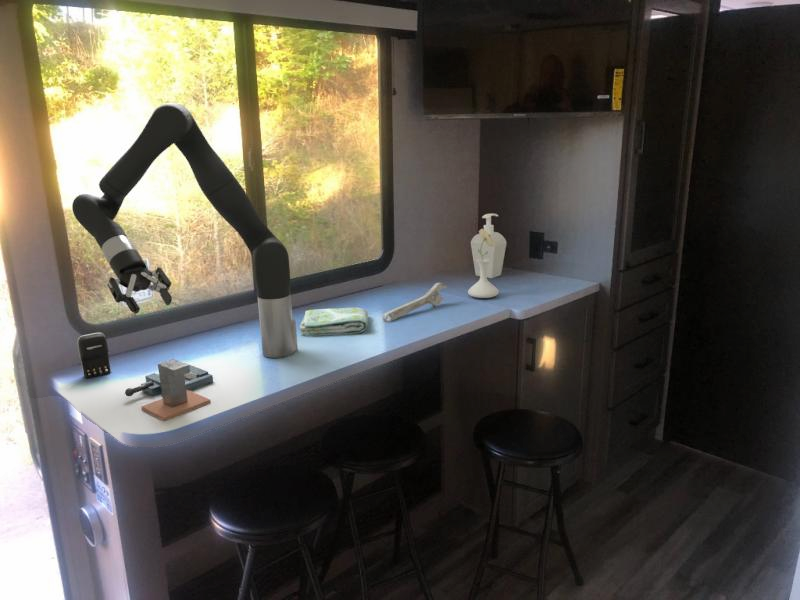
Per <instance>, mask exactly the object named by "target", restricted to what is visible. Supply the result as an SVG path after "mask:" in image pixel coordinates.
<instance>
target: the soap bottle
mask: <svg viewBox="0 0 800 600" xmlns="http://www.w3.org/2000/svg"><path fill="white" fill-rule="evenodd" d="M493 216H494V217H499V215H498V214H497V213H485V214H484V215H482V217H481V219H485V224H483V230H486V231H487V232H488V235H489V234H490V235H491V238H492V240H493V241H494V243H493V244H494V246H492V247H491V246H489V245H488V244H486V243H485V242H483V239H482V237H481V236H480V233H479V232H478V233H477V234H476V235H474V236H473V237H472V238H471V241H470V248H471V253H472V259H473V261H472V262H473V266H474V271H475V274H474V275H475V276H477V277H480V266H479V264H478V262H477V260H478V259H482V257H483V259H489V260H490V262H489V263H488V266H487V273H486V276H487V279H494V278H496V277H500V276H501V275H502V272H503V271H502V270H503V265H504V259H505V253H506V248H507V240H506V238H505V237H504V236H503V235H502V234H501V233H500V232H497V231H494V229H495V228H494V224H492V217H493ZM482 242H483V245H482ZM481 245H482V247H481ZM480 248H481V253H482V255H483V254H485V253H486V252H488V253H487V254H485V255H484V256H482V257H481V254H480V253H479V252H478V249H479V250H480Z"/></svg>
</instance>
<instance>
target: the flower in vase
mask: <svg viewBox="0 0 800 600" xmlns="http://www.w3.org/2000/svg"><path fill="white" fill-rule="evenodd" d="M479 233H480V236H481V237H482V239H483V242H485V243H486V244H488V245H489V246H491V247H492V246H494V244H493V243H494V241H493V240H492V238H491V235H490V234H489V235H488V232H487V231H486V230H484V228H481V229H479V230H478V234H479ZM483 242H482V245H483ZM482 245H481V247H482ZM478 252H479V253H480V254H481V257H482V256H484V255H485V254H487V253H488V252H486V253H485V254H483V255H482V253H481V248H480V250H479V249H478ZM477 262H478V264H479V266H480V276H479V280H478V281H476V283H474V284H473V285H472V286H471V287H470V288H469V289H468V291H467V293H468V295H469V296H471V297H474V298H477V299H490V298H493V297H495V296H498V294H499V289H498V288H497V287H496V286H495V285H493V283H491V282H490V281H489V280H488V277H487V276H486V273H487V266H488V263H489V262H490V260H489V259H483V257H482V259H478V260H477Z"/></svg>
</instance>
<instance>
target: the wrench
mask: <svg viewBox="0 0 800 600" xmlns="http://www.w3.org/2000/svg"><path fill="white" fill-rule="evenodd" d="M447 288H448V287H447V285H446V284H445V283H443V282H436V283H434V284H433V286H432V287H431V288H430V289H429V290H428V291H427V292H426V293H424V295H423V296H421V297H418V298H416V299H413V300H411V301H409V302H406V303H405V304H402V305H400V306H398V307H396V308H393V309H391V310H388V311H386V312H384V313H383V315H382V320H383V322H387V323H389V322H392V321H394V320H397V319H398V318H400V317H403V316H404V315H407V314H409V313H411V312H414V311H415V310H417V309H419V308H421V307H424V306H426V305H431V308H435V307H436V308H437V307H438V305H439V304H441V303H442V302H443V300H444V299H445V297H444V296H440V291H441V290H442V289H447ZM387 316H388V318H387Z"/></svg>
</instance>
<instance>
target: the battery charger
mask: <svg viewBox="0 0 800 600" xmlns="http://www.w3.org/2000/svg"><path fill="white" fill-rule="evenodd" d="M76 343H77V349H78V354H79V356H78V357H79V359H80V363H81V369H82V374H83V375H82V376H83V377H85V378H86V379H91V378H96V377H102V376H105V375H109V374H110V373H111V372H112V371H111V365H110V359H109V346H108V342H107V338H106V336H105V334H104V333H103V332H94V333H89V334H84V335H81V336H79V337H78V339H77V342H76Z"/></svg>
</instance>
